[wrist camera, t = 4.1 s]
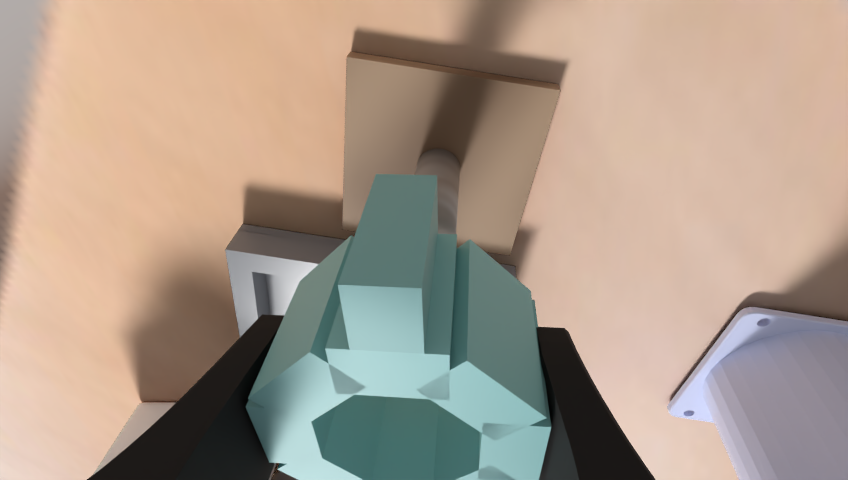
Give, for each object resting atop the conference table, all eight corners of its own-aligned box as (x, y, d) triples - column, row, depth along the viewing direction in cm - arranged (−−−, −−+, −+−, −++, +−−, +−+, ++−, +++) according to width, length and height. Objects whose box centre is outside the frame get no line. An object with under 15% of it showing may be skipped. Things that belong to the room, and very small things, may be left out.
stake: (558, 84, 16) (583, 149, 12) (509, 246, 20) (516, 332, 16) (350, 51, 16) (310, 106, 12) (345, 221, 20) (314, 301, 16)
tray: (515, 266, 21) (517, 294, 19) (466, 418, 28) (465, 447, 27) (242, 223, 21) (225, 249, 19) (264, 388, 28) (253, 415, 27)
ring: (518, 398, 13) (528, 522, 11) (321, 386, 14) (286, 502, 11) (553, 178, 9) (582, 295, 6) (266, 171, 10) (190, 278, 7)
